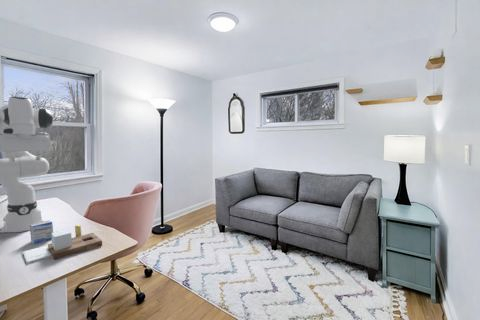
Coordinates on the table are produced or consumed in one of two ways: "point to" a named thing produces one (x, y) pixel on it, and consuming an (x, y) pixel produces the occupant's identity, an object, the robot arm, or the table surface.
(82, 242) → the board
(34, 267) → the table surface
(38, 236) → the medicine box
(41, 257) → the external hard drive
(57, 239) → the light grey cube
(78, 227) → the peg
